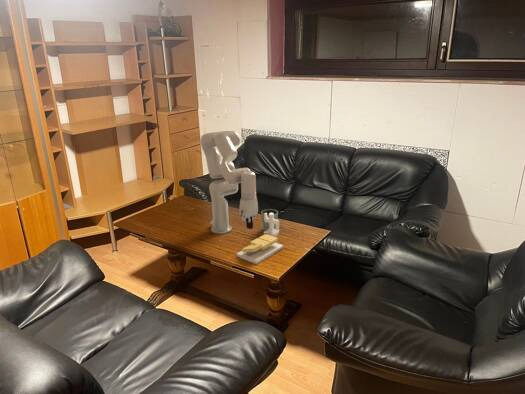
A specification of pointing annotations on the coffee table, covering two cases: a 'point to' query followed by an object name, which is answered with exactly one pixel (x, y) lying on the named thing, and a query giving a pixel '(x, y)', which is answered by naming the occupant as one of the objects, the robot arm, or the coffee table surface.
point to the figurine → (271, 225)
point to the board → (260, 253)
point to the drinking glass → (265, 224)
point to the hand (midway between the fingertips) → (249, 227)
